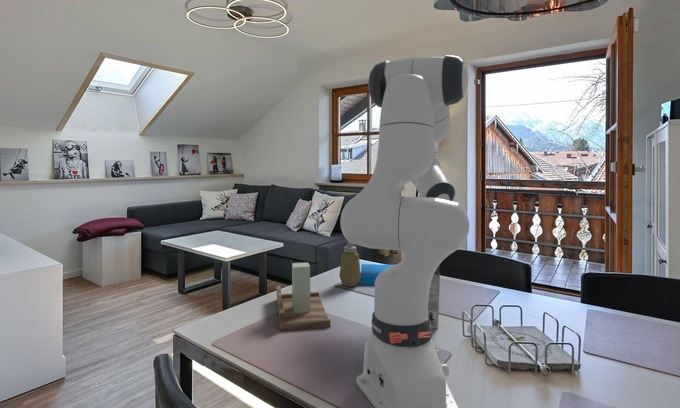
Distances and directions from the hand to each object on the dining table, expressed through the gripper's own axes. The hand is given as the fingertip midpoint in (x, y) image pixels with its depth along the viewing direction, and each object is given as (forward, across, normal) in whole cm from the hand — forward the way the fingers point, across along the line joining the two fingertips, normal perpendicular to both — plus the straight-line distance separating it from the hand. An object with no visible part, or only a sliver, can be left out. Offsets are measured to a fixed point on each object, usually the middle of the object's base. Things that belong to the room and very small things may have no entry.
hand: (360, 214), depth 121 cm
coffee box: (-17, +12, +30) cm, 37 cm away
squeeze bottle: (-2, -26, +30) cm, 40 cm away
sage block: (+18, -2, +29) cm, 34 cm away
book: (-20, -30, +31) cm, 48 cm away
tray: (+18, -2, +30) cm, 35 cm away
